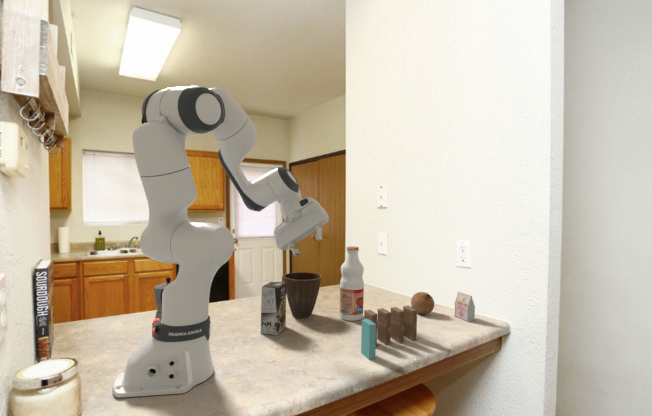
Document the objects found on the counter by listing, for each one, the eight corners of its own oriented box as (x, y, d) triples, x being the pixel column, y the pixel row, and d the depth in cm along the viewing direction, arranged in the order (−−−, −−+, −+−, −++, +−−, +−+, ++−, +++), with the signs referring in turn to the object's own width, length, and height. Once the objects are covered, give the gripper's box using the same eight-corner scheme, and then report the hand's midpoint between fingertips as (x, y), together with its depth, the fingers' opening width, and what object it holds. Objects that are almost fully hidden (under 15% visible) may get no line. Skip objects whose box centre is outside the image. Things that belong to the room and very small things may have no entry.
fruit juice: (340, 313, 138) (341, 245, 138) (362, 314, 137) (364, 246, 137) (338, 320, 128) (340, 248, 128) (363, 322, 127) (364, 248, 127)
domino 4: (411, 340, 110) (411, 310, 110) (402, 335, 115) (403, 306, 115) (416, 340, 111) (417, 309, 111) (407, 334, 115) (408, 305, 115)
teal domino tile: (369, 359, 95) (369, 325, 96) (361, 352, 100) (361, 319, 100) (375, 358, 96) (375, 324, 96) (367, 351, 101) (367, 318, 101)
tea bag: (461, 315, 138) (462, 291, 138) (474, 320, 131) (475, 295, 131) (454, 316, 136) (455, 292, 136) (467, 322, 130) (467, 296, 130)
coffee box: (277, 335, 112) (278, 287, 112) (259, 333, 114) (260, 286, 114) (286, 326, 121) (287, 281, 121) (269, 324, 123) (270, 280, 123)
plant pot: (328, 316, 134) (329, 276, 134) (299, 324, 123) (300, 281, 123) (304, 307, 144) (304, 270, 144) (275, 315, 134) (276, 275, 134)
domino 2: (385, 344, 107) (385, 313, 107) (377, 338, 111) (377, 308, 111) (390, 343, 107) (390, 312, 107) (382, 338, 112) (382, 308, 112)
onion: (430, 323, 137) (438, 304, 133) (407, 315, 138) (415, 296, 134) (429, 308, 145) (437, 290, 141) (408, 301, 147) (415, 283, 143)
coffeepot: (157, 323, 122) (158, 274, 122) (185, 321, 124) (186, 273, 124) (145, 339, 107) (146, 283, 107) (177, 337, 109) (178, 282, 109)
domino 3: (398, 342, 108) (399, 311, 108) (390, 337, 113) (390, 307, 113) (403, 341, 109) (404, 311, 109) (395, 336, 114) (395, 307, 114)
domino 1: (371, 346, 105) (371, 314, 105) (363, 340, 109) (364, 310, 109) (376, 345, 105) (377, 314, 105) (369, 339, 110) (369, 309, 110)
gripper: (267, 226, 115) (277, 261, 108) (313, 194, 109) (328, 228, 102) (278, 231, 120) (289, 264, 113) (323, 200, 114) (338, 233, 107)
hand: (308, 247), depth 107 cm, fingers open, 8 cm apart
